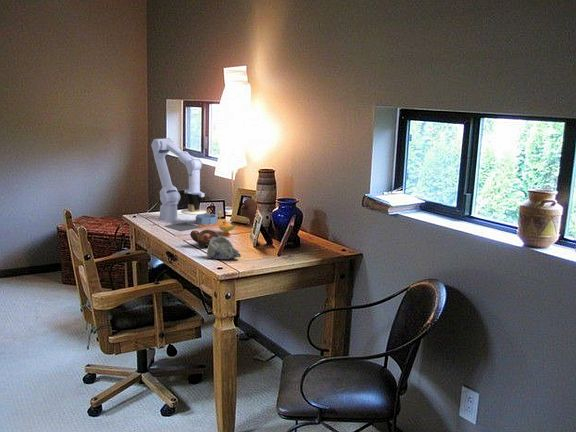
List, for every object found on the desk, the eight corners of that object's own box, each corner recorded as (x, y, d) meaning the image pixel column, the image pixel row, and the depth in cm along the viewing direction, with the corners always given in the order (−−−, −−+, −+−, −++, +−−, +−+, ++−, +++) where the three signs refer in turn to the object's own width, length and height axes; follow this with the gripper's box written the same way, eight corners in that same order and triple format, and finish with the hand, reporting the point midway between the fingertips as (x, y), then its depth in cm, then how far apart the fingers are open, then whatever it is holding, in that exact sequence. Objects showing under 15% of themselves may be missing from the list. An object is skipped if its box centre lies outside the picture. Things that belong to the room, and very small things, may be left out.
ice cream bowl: (261, 228, 298) (261, 200, 295) (239, 228, 298) (239, 199, 295) (262, 224, 308) (262, 196, 305) (241, 223, 308) (241, 196, 305)
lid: (176, 211, 299) (176, 203, 298) (196, 209, 308) (196, 201, 308) (191, 215, 290) (191, 207, 290) (211, 212, 300) (211, 205, 299)
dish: (192, 223, 307) (192, 215, 306) (208, 220, 315) (208, 213, 314) (205, 226, 299) (205, 219, 299) (221, 223, 307) (221, 216, 306)
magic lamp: (231, 240, 274) (231, 217, 271) (212, 232, 288) (212, 210, 286) (243, 238, 278) (244, 216, 276) (224, 230, 292) (224, 209, 290)
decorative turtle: (187, 245, 263) (188, 227, 261) (220, 245, 268) (221, 228, 267) (192, 249, 254) (193, 231, 253) (225, 249, 259) (226, 232, 258)
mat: (163, 227, 296) (163, 226, 296) (185, 223, 306) (185, 222, 306) (180, 232, 286) (180, 231, 286) (203, 228, 296) (203, 227, 296)
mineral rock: (242, 260, 241) (242, 237, 239) (221, 265, 234) (221, 241, 232) (224, 253, 251) (224, 231, 249) (203, 257, 244) (203, 234, 242)
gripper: (179, 181, 299) (179, 207, 301) (196, 185, 289) (196, 212, 291) (190, 180, 303) (190, 205, 306) (207, 184, 294) (207, 210, 296)
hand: (194, 208), depth 299 cm, fingers closed on lid, 3 cm apart
